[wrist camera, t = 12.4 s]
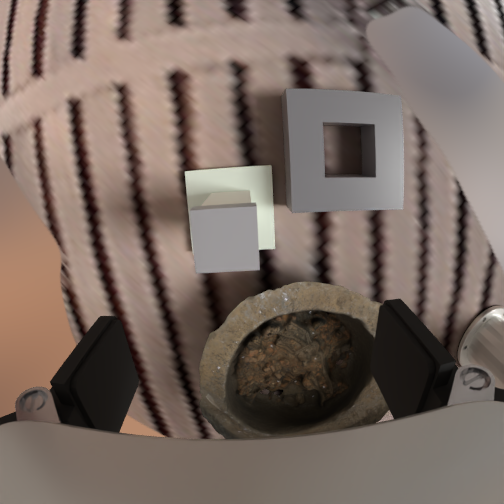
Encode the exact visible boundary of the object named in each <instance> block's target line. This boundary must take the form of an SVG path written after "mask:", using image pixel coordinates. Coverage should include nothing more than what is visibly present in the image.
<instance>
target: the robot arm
mask: <svg viewBox="0 0 504 504" xmlns="http://www.w3.org/2000/svg"><path fill="white" fill-rule="evenodd" d="M455 362H456V361H455V359H454V358H453V357H452V356H451V355H450V353H449V352H448V351H447V350H446V349H445V348H444V346H443V345H442V344H441V343H440V342H439V341H438V340H437V338H436V337H435V336H434V335H433V334H432V333H431V332H430V331H429V329H428V328H427V327H426V326H425V325H424V324H423V323H422V322H421V321H420V319H419V318H418V317H417V316H416V315H415V314H414V313H413V312H412V311H411V310H410V309H409V307H408V306H407V305H406V304H405V303H404V302H403V301H402V300H401V299H394V300H386V301H385V302H384V304H383V305H380V307H379V313H378V320H377V327H376V334H375V340H374V347H373V352H372V358H371V364H370V368H371V373H372V375H373V377H374V379H375V381H376V383H377V385H378V387H379V389H380V391H381V393H382V395H383V397H384V399H385V401H386V403H387V405H388V407H389V409H390V412H391V414H392V416H393V418H394V419H393V420H388V421H384V422H379V423H374V424H369V425H364V426H359V427H353V428H347V429H341V430H335V431H328V432H321V433H313V434H304V435H294V436H283V437H270V438H251V439H186V438H167V437H154V436H143V435H133V434H126V433H119V432H120V429H121V426H122V424H123V421H124V419H125V416H126V414H127V411H128V409H129V406H130V404H131V401H132V399H133V397H134V394H135V392H136V389H137V387H138V383H139V380H138V375H137V372H136V369H135V366H134V363H133V360H132V357H131V353H130V350H129V347H128V343H127V340H126V337H125V333H124V330H123V326H122V323H121V321H120V320H117V318H116V317H115V316H100V317H99V318H98V319H97V321H96V322H95V323H94V324H93V326H92V327H91V328H90V329H89V331H88V332H87V333H86V334H85V336H84V337H83V338H82V340H81V341H80V342H79V343H78V345H77V346H76V347H75V349H74V350H73V351H72V353H71V354H70V355H69V357H68V358H67V359H66V361H65V362H64V363H63V365H62V366H61V367H60V369H59V370H58V371H57V373H56V374H55V376H54V377H53V378H52V380H51V381H50V383H51V385H52V388H51V389H50V391H49V390H48V389H47V388H44V387H33V388H30V389H28V390H25V391H24V392H23V393H21V394H20V396H19V397H18V398H17V400H16V403H15V408H16V412H14V413H11V414H9V415H6V416H3V417H1V418H0V504H504V307H502V306H493V307H490V308H488V309H487V310H485V311H484V312H482V313H481V314H480V315H479V316H478V317H477V318H476V319H475V320H474V321H473V322H472V323H471V325H470V326H469V327H468V329H467V330H466V332H465V334H464V336H463V338H462V340H461V342H460V345H459V349H458V362H459V363H460V365H461V366H462V367H460V368H459V369H458V367H457V366H456V365H455Z"/></svg>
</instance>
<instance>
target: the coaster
mask: <svg viewBox="0 0 504 504" xmlns="http://www.w3.org/2000/svg"><path fill="white" fill-rule="evenodd" d="M185 180H186V192H187V202H188V212H189V210H190V209H191V208H192V207H194V206H201V205H202V204H203V203H204V201H205V200H206V199H207V198H208V196H209V195H210V194H211V193H216V192H231V191H248V190H250V196H251V203H256V205H257V223H258V244H259V250H261V249H275V234H274V209H273V186H272V166H271V165H261V166H243V167H228V168H215V169H203V170H192V171H185ZM189 222H190V214H189ZM190 231H191V224H190ZM191 240H192V234H191ZM192 249H193V243H192ZM193 254H194V252H193Z"/></svg>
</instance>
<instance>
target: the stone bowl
mask: <svg viewBox="0 0 504 504" xmlns="http://www.w3.org/2000/svg"><path fill="white" fill-rule="evenodd" d="M380 305H383V304H381V303H379V302H371V301H370V300H369V298H366V297H364V296H362V295H361V294H359V293H356V292H353V291H349V290H348V289H346V288H344V287H342V286H333V285H330V284H325V283H318V282H308V281H306V282H294V283H292V284H289V285H284V286H283V287H282V288H281V289H280V288H277V289H276V290H274V291H273V290H267V291H265V292H263V293H261V294H258V295H256V296H253V297H250V296H249V297H248V298H246V299H245V300H244V301H242V302H241V303H240V304H239V305H238V306H237V307H236V308H235V309H234V310H233V311H232V312H231V313H230V314H229V315H228V317H227V319H226V321H225V322H224V323H223V324H222V325H221V327H220V328H219V329H217V330H216V331H214V332H212V333H210V334H209V337H208V339H207V342H206V344H205V347H204V350H203V354H202V358H201V361H200V365H199V374H200V377H201V378H200V393H201V394H202V399H201V401H200V403H199V405H200V408H201V411H202V415H203V417H205V418H206V419H207V420H208V422H209V423H211V424H212V426H213V428H214V429H215V430H216V431H217V432H218V433H219V434H221V435H223V436H224V438H225V439H251V438H270V437H283V436H294V435H304V434H313V433H321V432H328V431H335V430H341V429H347V428H353V427H359V426H364V425H369V424H374V423H376V422H378V421H380V420H381V419H382V417H383V416H384V415H385V414H386V413H387V412H388V410H389V407H388V405H387V403H386V401H385V399H384V397H383V395H382V393H381V391H380V389H379V387H378V385H377V383H376V381H375V379H374V377H373V375H372V373H371V368H370V364H371V358H372V352H373V347H374V340H375V334H376V327H377V320H378V313H379V307H380ZM326 312H330V313H332V314H329V315H328V314H327V313H326ZM338 360H343V362H342V363H341V364H340V365H337V364H336V361H338ZM264 389H267V390H269V391H270V392H269V393H268V394H267V395H265V394H261V393H260V391H262V390H264ZM278 389H280V390H283V393H282V394H281V395H279V396H276V395H275V394H274V393H273V392H275V391H277V390H278Z"/></svg>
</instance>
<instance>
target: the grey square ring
mask: <svg viewBox="0 0 504 504" xmlns="http://www.w3.org/2000/svg"><path fill="white" fill-rule="evenodd" d="M281 101H282V118H283V135H284V155H285V177H286V203H287V207H288V208H289V210H290V211H291V212H292V213H302V212H325V211H354V210H396V209H403V198H404V139H403V117H402V103H401V96H397V95H389V94H380V93H371V92H359V91H346V90H327V89H286V90H285V91H284V93H283V94H282V96H281ZM323 126H356V127H361V148H362V174H327V175H325V164H324V138H323Z"/></svg>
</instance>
